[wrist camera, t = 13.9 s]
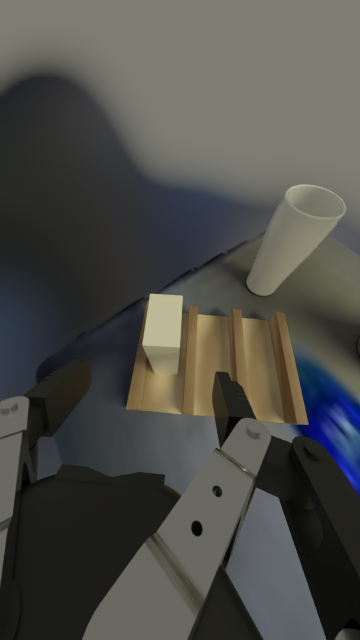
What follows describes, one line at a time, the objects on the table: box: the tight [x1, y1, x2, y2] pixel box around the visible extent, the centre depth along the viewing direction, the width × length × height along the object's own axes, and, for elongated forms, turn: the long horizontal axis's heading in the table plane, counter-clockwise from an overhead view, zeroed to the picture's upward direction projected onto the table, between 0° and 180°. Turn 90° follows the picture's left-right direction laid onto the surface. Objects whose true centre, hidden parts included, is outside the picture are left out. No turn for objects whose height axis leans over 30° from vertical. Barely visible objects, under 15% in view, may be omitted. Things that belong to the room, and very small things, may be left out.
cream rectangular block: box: [142, 294, 183, 375], centre depth 21 cm, size 3×5×11 cm, turn 177°
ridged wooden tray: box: [126, 301, 308, 425], centre depth 25 cm, size 21×14×4 cm, turn 86°
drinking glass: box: [246, 185, 346, 296], centre depth 27 cm, size 7×7×15 cm
